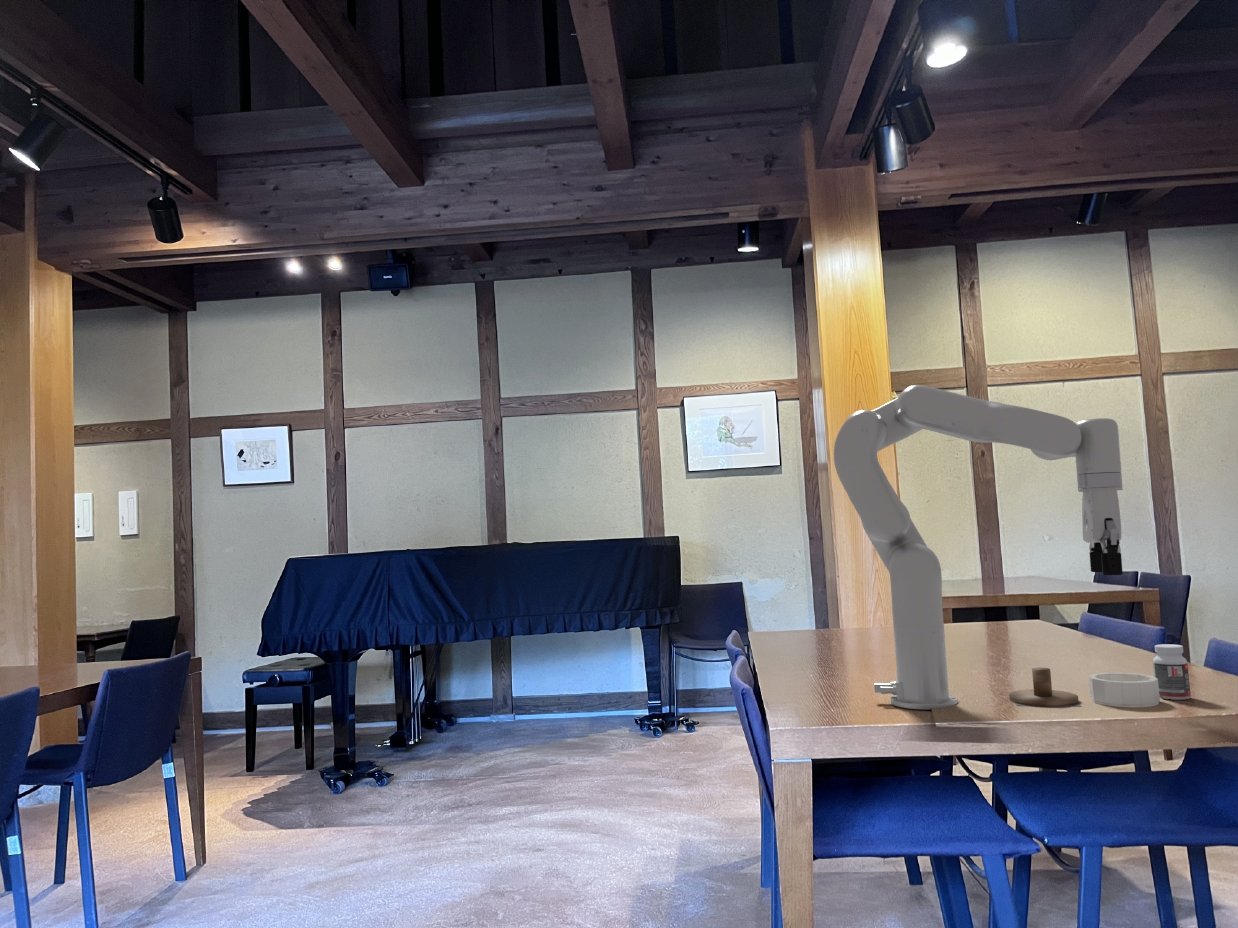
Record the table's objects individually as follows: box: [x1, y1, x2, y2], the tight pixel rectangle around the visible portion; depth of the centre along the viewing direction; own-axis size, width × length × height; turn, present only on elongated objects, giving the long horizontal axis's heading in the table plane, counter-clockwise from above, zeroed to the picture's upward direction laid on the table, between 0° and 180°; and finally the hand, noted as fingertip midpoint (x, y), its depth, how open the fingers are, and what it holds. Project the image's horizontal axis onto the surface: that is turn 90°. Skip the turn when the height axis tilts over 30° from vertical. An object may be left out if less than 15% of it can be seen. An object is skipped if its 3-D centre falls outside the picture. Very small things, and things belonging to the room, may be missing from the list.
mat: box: [1014, 702, 1082, 708], centre depth 170 cm, size 11×11×1 cm
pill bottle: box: [1152, 643, 1192, 701], centre depth 170 cm, size 6×6×10 cm
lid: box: [1008, 667, 1079, 708], centre depth 170 cm, size 12×12×6 cm
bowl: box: [1088, 672, 1161, 708], centre depth 166 cm, size 11×11×5 cm
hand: (1106, 573), depth 167 cm, fingers open, 9 cm apart
